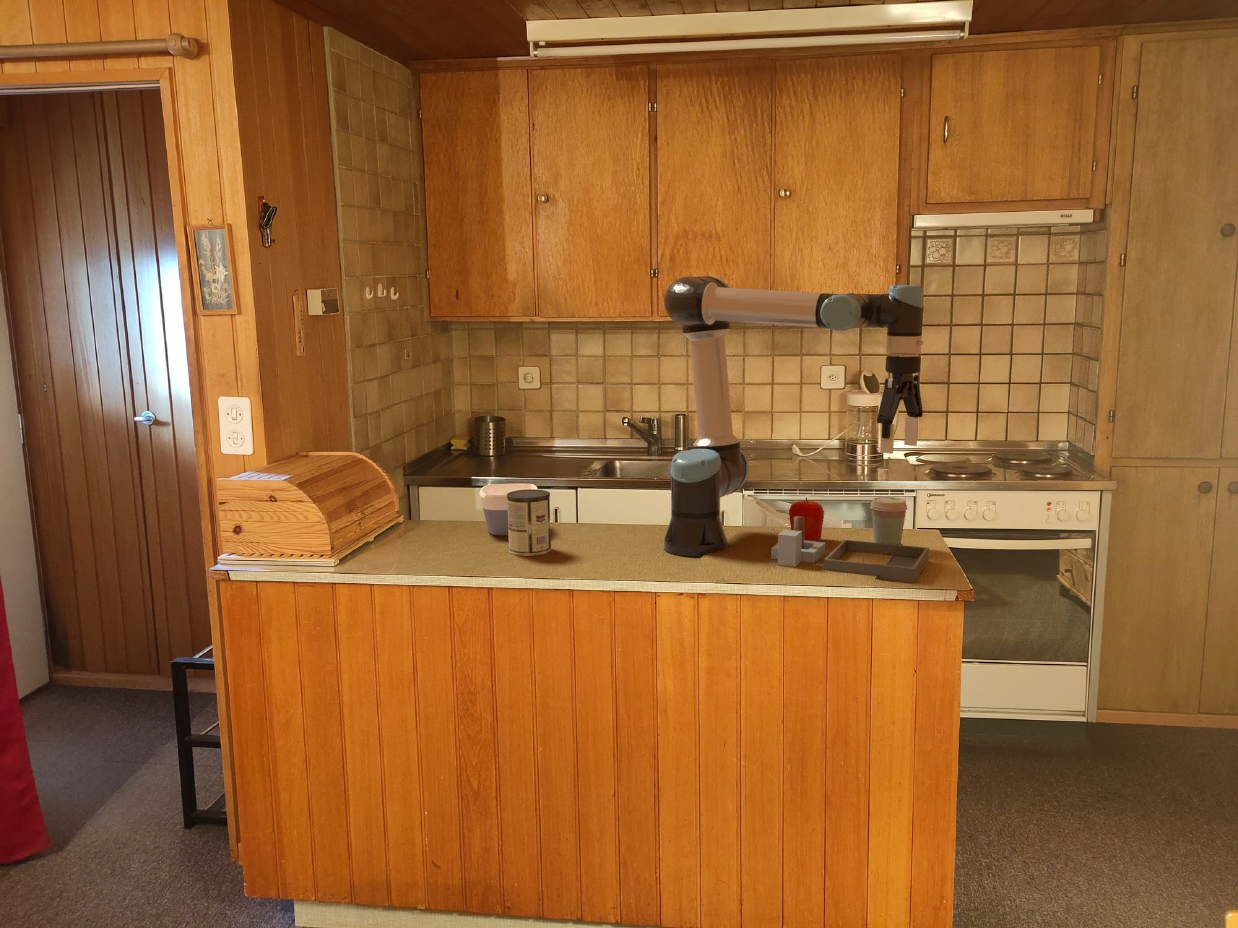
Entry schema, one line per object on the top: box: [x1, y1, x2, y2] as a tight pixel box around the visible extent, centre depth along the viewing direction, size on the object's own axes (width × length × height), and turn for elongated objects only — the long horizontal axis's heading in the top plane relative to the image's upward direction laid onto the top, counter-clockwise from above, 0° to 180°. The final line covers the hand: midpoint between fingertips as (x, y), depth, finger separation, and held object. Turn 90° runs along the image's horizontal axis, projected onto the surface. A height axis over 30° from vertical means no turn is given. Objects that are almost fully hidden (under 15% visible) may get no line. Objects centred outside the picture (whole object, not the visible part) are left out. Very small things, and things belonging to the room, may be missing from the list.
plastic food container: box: [479, 483, 539, 537], centre depth 269 cm, size 15×15×11 cm
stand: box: [768, 516, 828, 565], centre depth 239 cm, size 11×11×10 cm
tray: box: [823, 539, 930, 584], centre depth 232 cm, size 19×19×3 cm
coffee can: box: [507, 489, 552, 557], centre depth 248 cm, size 10×10×14 cm
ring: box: [770, 529, 826, 568], centre depth 237 cm, size 10×15×7 cm, turn 155°
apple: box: [788, 496, 825, 542], centre depth 252 cm, size 9×8×12 cm
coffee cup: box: [870, 496, 908, 545], centre depth 247 cm, size 8×8×12 cm
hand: (898, 449), depth 236 cm, fingers open, 13 cm apart
